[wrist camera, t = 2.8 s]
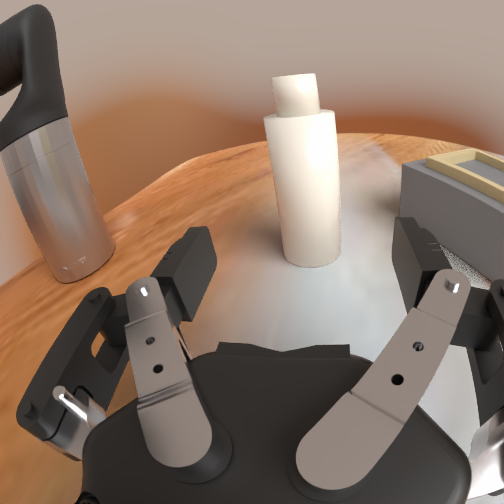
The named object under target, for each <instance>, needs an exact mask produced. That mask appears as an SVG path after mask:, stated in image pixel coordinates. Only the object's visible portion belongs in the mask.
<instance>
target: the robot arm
mask: <svg viewBox="0 0 504 504" xmlns="http://www.w3.org/2000/svg"><path fill="white" fill-rule="evenodd" d="M20 84H22V87H21V90H20V92H19V94H18V97H17V99H16V100H15V102H14V104H13V105H12V107H11V108H10V110H9V111H8V113H7V114H6V115H5V117H4V118H3V119H2V121H1V122H0V155H1V158H2V161H3V164H4V167H5V170H6V173H7V176H8V178H9V181H10V184H11V187H12V189H13V192H14V194H15V197H16V199H17V202H18V204H19V206H20V209H21V211H22V213H23V215H24V218H25V220H26V222H27V224H28V227H29V229H30V231H31V233H32V235H33V237H34V239H35V241H36V243H37V245H38V247H39V249H40V250H41V252H42V255H43V256H44V258H45V260H46V262H47V264H48V265H49V267H50V269H51V271H52V272H53V274H54V276H55V278H56V279H57V280H58V281H59V282H61V283H69V282H74V281H77V280H79V279H82V278H84V277H86V276H88V275H89V274H91V273H93V272H94V271H96V270H97V269H98V268H100V267H101V266H102V265H103V264H104V263H105V262H106V261H107V260H108V259H109V258H110V257H111V255H112V254H113V252H114V249H115V244H114V241H113V239H112V237H111V235H110V232H109V230H108V228H107V225H106V223H105V221H104V218H103V216H102V213H101V211H100V208H99V206H98V204H97V201H96V198H95V196H94V193H93V190H92V188H91V185H90V183H89V180H88V177H87V174H86V171H85V168H84V166H83V163H82V160H81V157H80V153H79V151H78V147H77V144H76V141H75V138H74V135H73V131H72V128H71V124H70V121H69V117H68V113H67V109H66V104H65V97H64V91H63V85H62V80H61V75H60V68H59V61H58V49H57V40H56V32H55V26H54V22H53V19H52V16H51V14H50V12H49V11H48V10H47V8H46V7H44V6H42V5H39V4H36V5H32V6H29V7H27V8H26V9H24V10H22V11H20V12H19V13H17V14H16V15H14V16H12V17H11V18H9V19H8V20H6V21H5V22H3V23H2V24H0V96H2V95H4V94H6V93H7V92H9V91H11V90H12V89H14V88H15V87H17V86H18V85H20ZM166 253H167V254H165V255H164V257H163V258H162V260H161V261H160V262H159V264H158V265H157V267H156V268H155V270H154V271H153V272H152V274H151V275H150V277H144V278H141V279H139V280H137V281H135V282H133V283H132V284H131V285H130V286H129V287H128V288H127V290H126V294H121V295H117V296H112V295H111V293H110V291H109V289H108V288H105V287H100V288H96V289H94V290H92V291H91V292H89V293H88V294H87V295H86V296H85V297H84V299H83V300H82V301H81V303H80V304H79V306H78V307H77V309H76V310H75V311H74V313H73V314H72V316H71V317H70V319H69V320H68V322H67V323H66V325H65V326H64V328H63V329H62V331H61V332H60V334H59V336H58V337H57V339H56V340H55V342H54V343H53V345H52V347H51V348H50V350H49V351H48V353H47V355H46V356H45V358H44V360H43V361H42V363H41V365H40V367H39V368H38V370H37V372H36V374H35V375H34V377H33V379H32V381H31V383H30V384H29V386H28V388H27V390H26V392H25V394H24V396H23V398H22V399H21V401H20V403H19V405H18V408H17V412H16V418H17V422H18V424H19V425H20V426H21V427H22V428H24V429H25V430H27V431H28V432H29V433H31V434H32V435H34V436H35V437H36V438H37V439H38V440H39V441H41V442H42V443H44V444H45V445H47V446H49V447H50V448H52V449H53V450H55V451H57V452H58V453H62V454H63V455H65V456H67V457H69V458H70V459H72V460H74V461H81V460H82V464H83V480H82V489H81V493H80V496H79V498H78V500H77V501H76V503H75V504H465V502H466V501H467V500H470V499H473V498H477V497H480V496H483V495H486V494H488V495H491V496H497V495H500V494H502V493H504V279H497V280H495V281H493V282H492V284H491V286H490V289H489V290H486V289H480V288H475V287H471V284H470V281H469V280H468V278H467V277H466V276H465V275H464V274H462V273H461V272H459V271H456V270H453V269H452V267H451V265H450V263H449V262H448V260H447V258H446V256H445V254H444V252H443V251H442V250H441V247H440V245H439V244H438V242H437V240H436V238H435V237H434V235H433V234H432V233H431V232H429V231H428V230H427V229H425V228H420V227H419V226H418V224H417V222H416V220H415V219H414V217H396V218H395V223H394V234H393V244H392V262H393V266H394V269H395V272H396V275H397V279H398V282H399V285H400V289H401V292H402V296H403V300H404V303H405V307H406V311H407V316H406V317H405V319H404V321H403V322H402V324H401V325H400V327H399V328H398V330H397V331H396V332H395V334H394V335H393V337H392V338H391V340H390V341H389V343H388V344H387V345H386V347H385V348H384V349H383V351H382V352H381V354H380V355H379V356H378V358H377V359H376V360H375V362H374V363H373V362H371V361H370V360H368V359H365V358H363V357H360V356H356V355H352V354H350V345H349V344H346V345H315V346H310V347H305V348H300V349H295V350H290V351H285V352H279V351H275V350H271V349H267V348H263V347H259V346H256V345H252V344H243V343H226V342H219V344H218V347H217V350H216V351H215V352H210V353H206V354H203V355H200V356H198V357H196V358H194V359H193V357H192V354H191V352H190V350H189V347H188V345H187V343H186V340H185V338H184V335H183V333H182V330H181V328H180V326H179V325H180V322H181V321H188V322H192V321H193V318H194V316H195V314H196V312H197V309H198V307H199V305H200V303H201V300H202V298H203V296H204V294H205V292H206V289H207V287H208V285H209V283H210V281H211V278H212V276H213V274H214V272H215V270H216V266H217V257H216V253H215V249H214V246H213V243H212V239H211V236H210V232H209V229H208V228H207V227H206V226H200V227H190V228H189V229H188V230H187V231H186V233H185V234H184V236H183V237H182V239H179V240H178V241H176V242H175V243H174V244H173V245H171V247H170V248H169V250H168V251H167V252H166ZM98 332H100V333H101V335H102V336H103V337H104V339H105V341H104V342H103V344H102V346H101V348H100V350H99V352H98V353H97V355H96V357H94V356H93V355H92V352H91V345H92V343H93V341H94V339H95V337H96V336H97V334H98ZM500 342H501V344H500ZM449 344H451V345H456V346H462V347H466V349H467V353H468V358H469V362H470V366H471V371H472V376H473V381H474V386H475V392H476V398H477V405H478V412H479V420H480V428H479V429H478V430H477V431H476V432H475V434H474V436H473V439H472V442H471V450H470V455H469V457H468V458H467V456H466V454H465V453H464V451H463V450H462V449H461V448H460V447H459V446H458V445H457V444H456V443H455V442H454V441H453V440H452V439H451V438H450V437H449V436H448V435H447V434H446V433H445V432H444V431H443V430H442V429H441V428H440V427H439V426H438V425H437V423H436V422H435V421H434V420H433V419H432V418H431V417H430V416H429V415H428V414H427V413H426V412H425V411H424V410H423V409H422V408H421V407H420V406H419V405H418V402H419V401H420V399H421V397H422V396H423V394H424V392H425V391H426V389H427V387H428V385H429V383H430V382H431V380H432V378H433V376H434V374H435V372H436V370H437V369H438V367H439V365H440V363H441V361H442V359H443V357H444V354H445V352H446V350H447V348H448V346H449ZM501 345H502V347H501ZM502 348H503V351H502ZM129 358H130V361H131V366H132V371H133V376H134V380H135V385H136V389H137V394H138V397H137V398H136V399H134V400H133V401H131V402H130V403H128V404H127V405H126V406H124V407H123V408H121V409H120V410H118V411H117V412H115V413H114V414H112V415H111V416H109V417H108V418H106V411H107V408H108V406H109V403H110V401H111V399H112V396H113V394H114V392H115V389H116V387H117V385H118V383H119V380H120V378H121V376H122V374H123V371H124V369H125V367H126V365H127V363H128V361H129Z"/></svg>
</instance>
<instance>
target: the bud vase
mask: <svg viewBox="0 0 504 504" xmlns="http://www.w3.org/2000/svg"><path fill="white" fill-rule="evenodd" d="M271 83H272V89H273V95H274V101H275V106H276V114H272V115H268V116H266V117H264V124H265V130H266V136H267V142H268V148H269V154H270V161H271V167H272V173H273V180H274V186H275V193H276V200H277V207H278V214H279V221H280V228H281V235H282V242H283V250H284V256H285V258H286V259H287V260H288V261H289V262H290V263H292V264H294V265H296V266H300V267H306V268H316V267H322V266H325V265H328V264H330V263H332V262H334V261H335V260H336V259H337V258H338V257H339V255H340V253H341V205H340V180H339V162H338V148H337V136H336V125H335V116H334V111H330V110H321V109H320V104H319V97H318V89H317V82H316V76H315V74H301V75H290V76H281V77H274V78H271Z"/></svg>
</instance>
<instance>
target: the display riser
mask: <svg viewBox="0 0 504 504" xmlns="http://www.w3.org/2000/svg"><path fill="white" fill-rule="evenodd" d="M399 217H414V219H415V220H416V222H417V224H418V226H419V227H420V228H425V229H427V230H428V231H429V232H431V233H432V234H433V235H434V237H435V238H436V240H437V242H438V243H440V244H441V245H442V246H444V247H445V248H447V249H448V250H450V251H451V252H452V253H454V254H455V255H457V256H458V257H459V258H461V259H462V260H464V261H465V262H466V263H468V264H469V265H470V266H472V267H473V268H474V269H476V270H477V271H478V272H480V273H481V274H482V275H483V276H485V277H486V278H487V279H489V280H490V281H491V282H493V281H495V280H497V279H504V160H501V159H499V158H497V157H494V156H492V155H490V154H487V153H485V152H482V151H480V150H477V149H474V148H471V149H465V150H459V151H454V152H449V153H444V154H438V155H433V156H429V157H426V159H422V160H417V161H413V162H408V163H404V164H402V180H401V198H400V212H399Z"/></svg>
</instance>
